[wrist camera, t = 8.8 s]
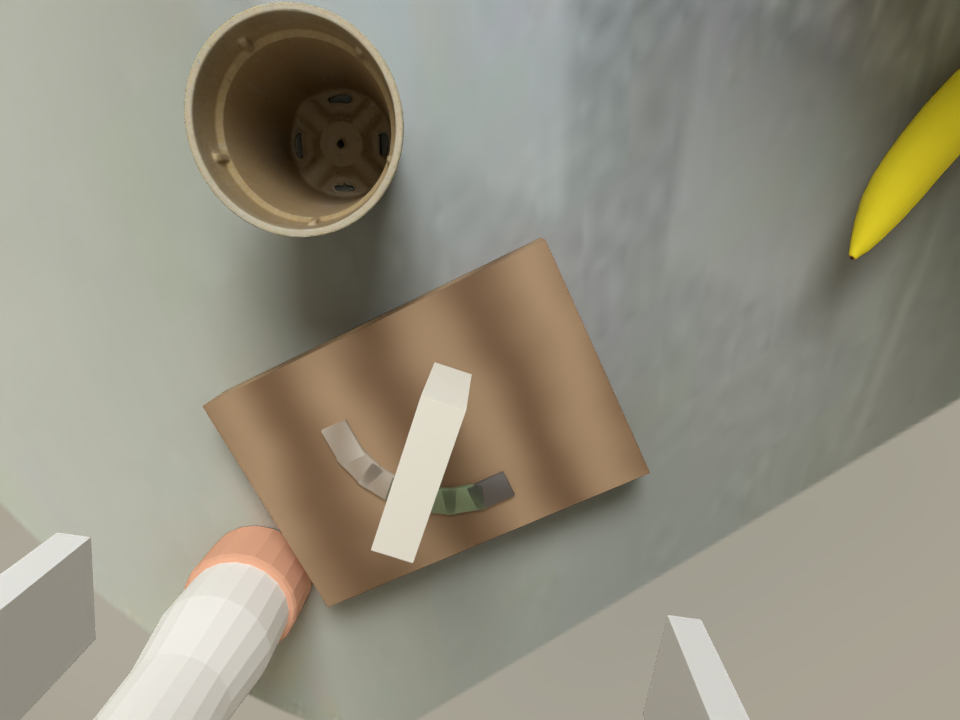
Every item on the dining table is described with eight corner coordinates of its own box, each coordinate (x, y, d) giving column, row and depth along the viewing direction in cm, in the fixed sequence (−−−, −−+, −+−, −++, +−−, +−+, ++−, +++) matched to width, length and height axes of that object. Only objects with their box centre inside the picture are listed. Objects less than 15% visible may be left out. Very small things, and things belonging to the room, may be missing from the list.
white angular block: (443, 335, 32) (418, 394, 22) (477, 346, 33) (468, 411, 22) (388, 504, 35) (342, 628, 25) (420, 514, 35) (388, 642, 25)
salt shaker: (275, 635, 42) (97, 978, 23) (188, 579, 41) (-71, 889, 22) (333, 566, 40) (192, 873, 21) (244, 505, 39) (15, 772, 20)
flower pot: (453, 190, 34) (439, 182, 25) (310, 256, 35) (251, 271, 26) (381, 25, 32) (340, -42, 23) (232, 102, 33) (141, 64, 24)
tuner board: (541, 237, 34) (545, 240, 31) (637, 452, 37) (651, 475, 34) (225, 390, 37) (199, 407, 34) (340, 578, 40) (326, 610, 37)
